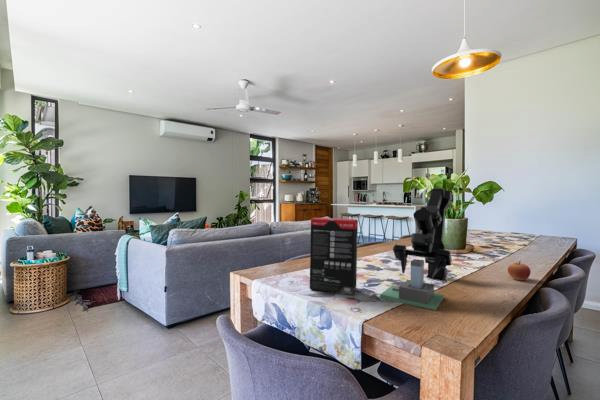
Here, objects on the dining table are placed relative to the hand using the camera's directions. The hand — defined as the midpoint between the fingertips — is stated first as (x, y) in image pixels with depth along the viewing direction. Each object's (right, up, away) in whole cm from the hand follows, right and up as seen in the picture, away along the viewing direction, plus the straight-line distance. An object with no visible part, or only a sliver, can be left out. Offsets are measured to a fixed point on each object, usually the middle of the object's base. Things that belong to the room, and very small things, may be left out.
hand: (416, 275), depth 98 cm
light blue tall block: (0, -8, +1) cm, 8 cm away
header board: (-1, -9, +3) cm, 9 cm away
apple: (+54, -9, +26) cm, 61 cm away
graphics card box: (-27, -9, +10) cm, 30 cm away
